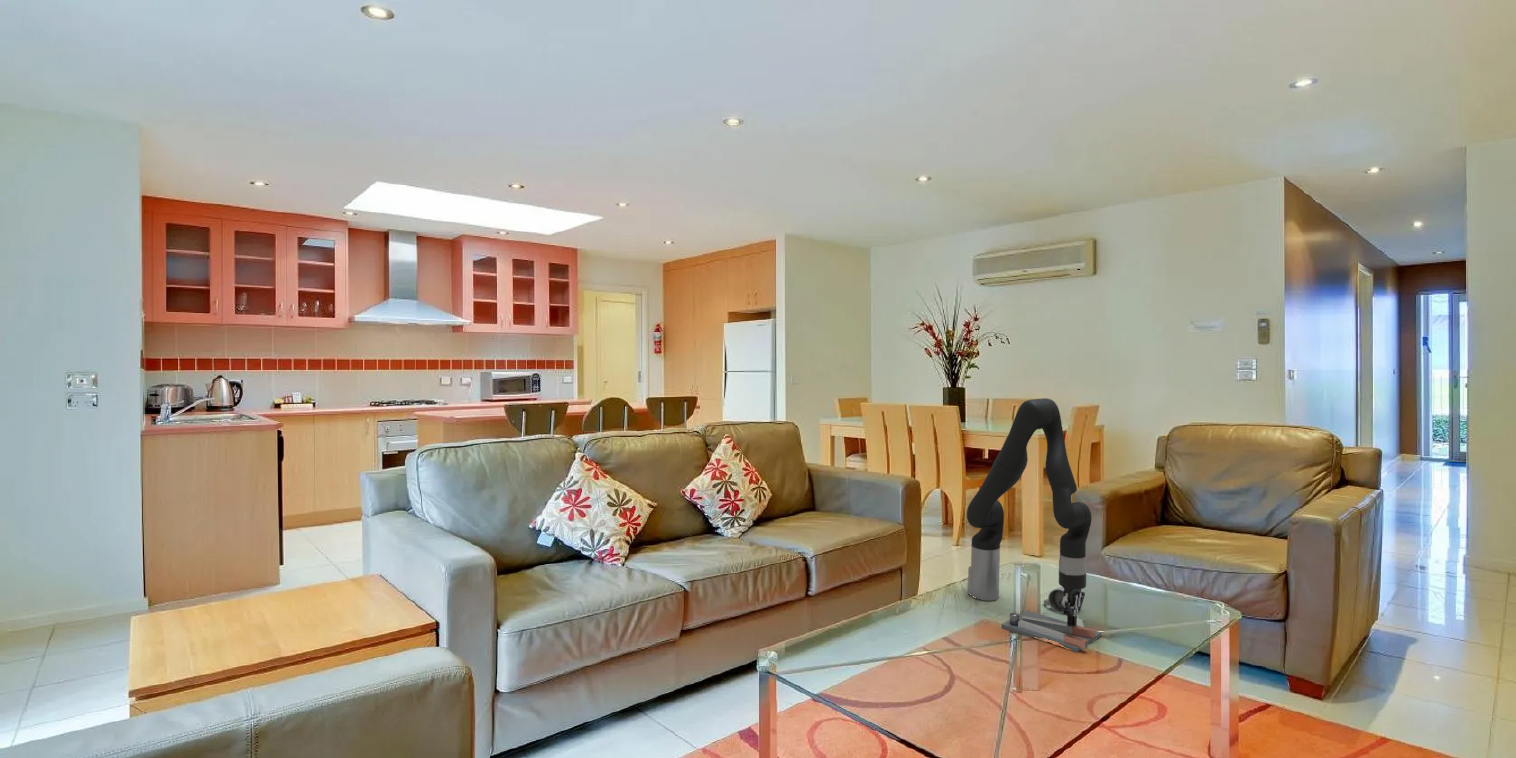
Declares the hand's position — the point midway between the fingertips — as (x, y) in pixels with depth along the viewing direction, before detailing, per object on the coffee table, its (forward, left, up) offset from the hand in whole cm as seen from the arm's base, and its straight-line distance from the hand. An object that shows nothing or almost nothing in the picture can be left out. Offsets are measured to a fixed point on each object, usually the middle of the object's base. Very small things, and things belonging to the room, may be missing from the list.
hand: (1071, 627), depth 220 cm
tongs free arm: (-3, -3, -1) cm, 4 cm away
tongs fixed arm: (-4, -8, -1) cm, 9 cm away
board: (-5, -3, -2) cm, 6 cm away
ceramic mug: (-11, +17, -3) cm, 21 cm away
